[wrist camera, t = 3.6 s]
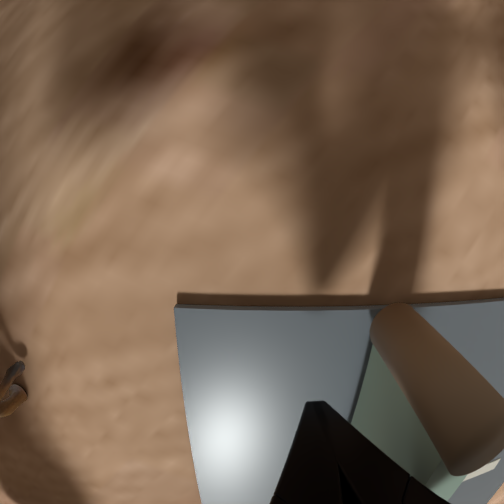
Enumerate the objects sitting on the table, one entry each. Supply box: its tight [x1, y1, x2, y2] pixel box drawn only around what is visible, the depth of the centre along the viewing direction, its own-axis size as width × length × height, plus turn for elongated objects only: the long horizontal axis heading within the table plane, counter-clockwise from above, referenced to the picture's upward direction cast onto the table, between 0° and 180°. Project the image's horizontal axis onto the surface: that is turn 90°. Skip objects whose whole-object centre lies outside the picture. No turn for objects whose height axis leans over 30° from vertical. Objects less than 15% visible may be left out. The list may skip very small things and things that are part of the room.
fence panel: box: [351, 303, 504, 501], centre depth 7 cm, size 12×2×5 cm, turn 177°
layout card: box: [174, 298, 504, 504], centre depth 12 cm, size 22×20×1 cm
